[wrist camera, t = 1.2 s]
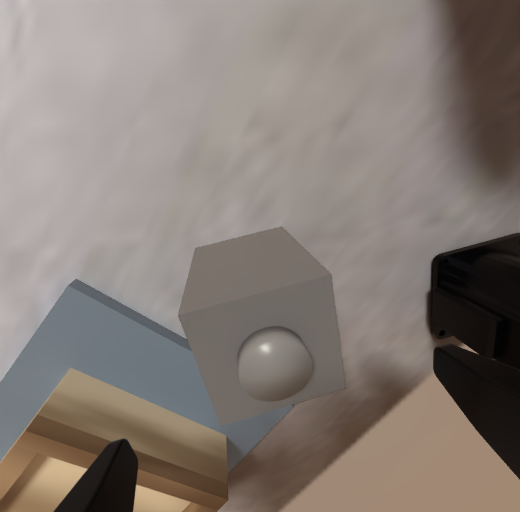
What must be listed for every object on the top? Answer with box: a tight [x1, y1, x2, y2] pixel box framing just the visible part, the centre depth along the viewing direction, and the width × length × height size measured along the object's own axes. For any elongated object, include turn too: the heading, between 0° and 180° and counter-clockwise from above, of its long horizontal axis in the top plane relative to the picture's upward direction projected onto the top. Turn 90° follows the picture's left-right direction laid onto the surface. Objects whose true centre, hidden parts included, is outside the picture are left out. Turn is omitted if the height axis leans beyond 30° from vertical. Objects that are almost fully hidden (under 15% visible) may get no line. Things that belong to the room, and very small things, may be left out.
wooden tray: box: [0, 368, 228, 512], centre depth 16 cm, size 11×11×4 cm
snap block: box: [178, 227, 346, 426], centre depth 12 cm, size 5×5×8 cm
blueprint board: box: [0, 279, 294, 474], centre depth 18 cm, size 20×16×1 cm
